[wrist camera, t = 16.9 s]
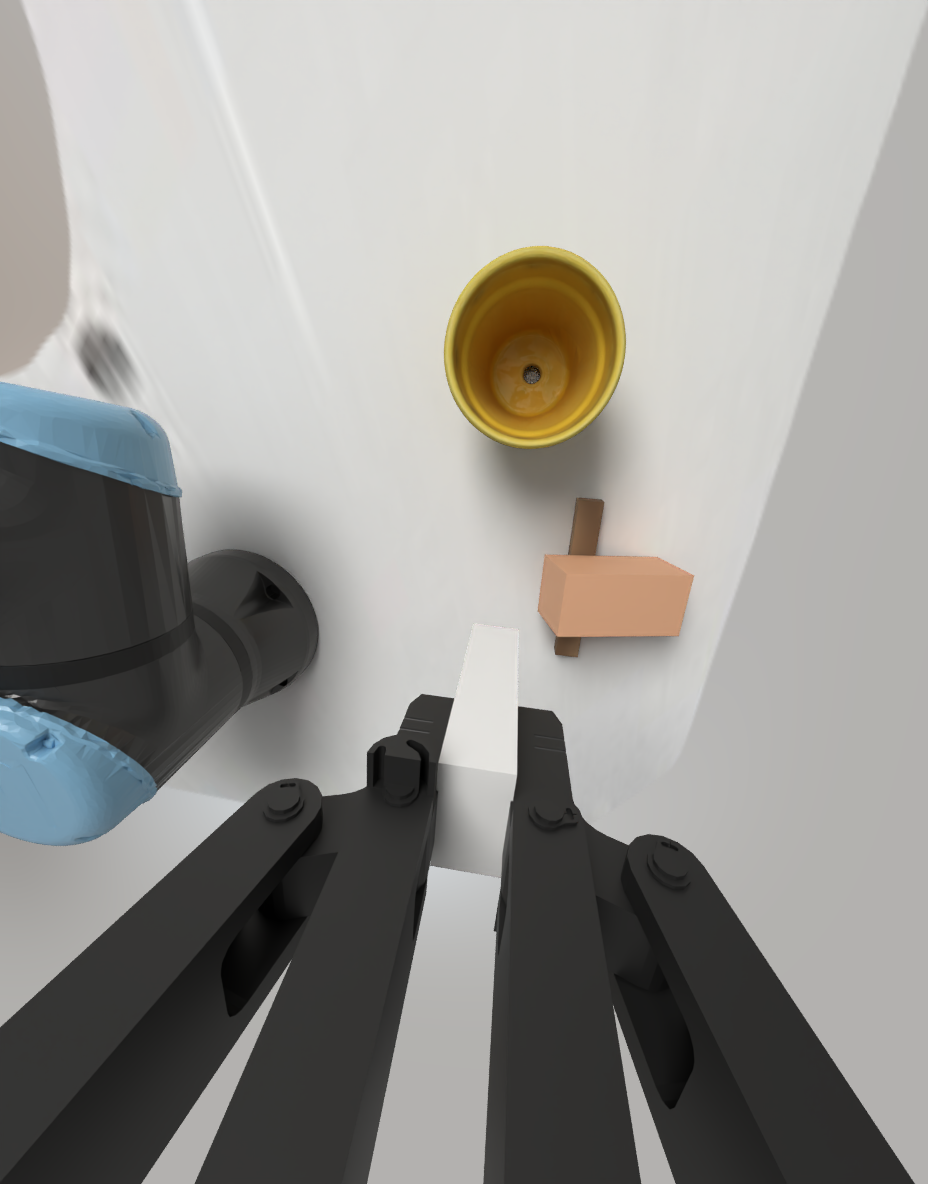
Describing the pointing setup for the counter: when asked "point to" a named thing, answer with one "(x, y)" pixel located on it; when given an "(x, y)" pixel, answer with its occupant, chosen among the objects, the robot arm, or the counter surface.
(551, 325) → the plant pot
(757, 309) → the counter surface
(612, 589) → the block
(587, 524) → the wooden plank
